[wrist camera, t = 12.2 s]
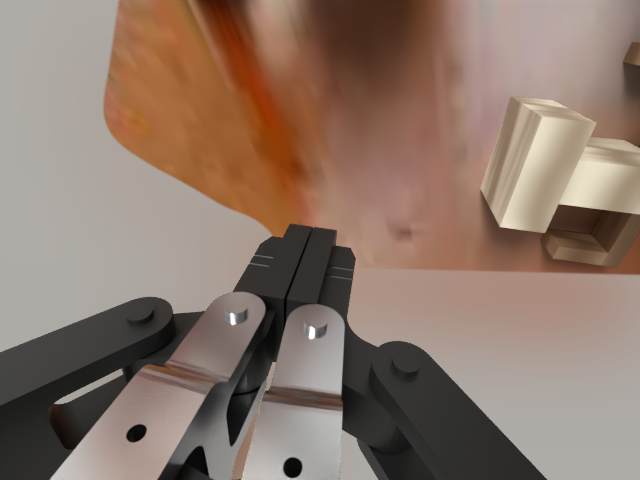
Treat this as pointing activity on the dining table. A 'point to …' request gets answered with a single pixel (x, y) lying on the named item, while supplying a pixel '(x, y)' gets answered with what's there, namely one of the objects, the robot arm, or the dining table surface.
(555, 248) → the walnut fence
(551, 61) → the dining table surface
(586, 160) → the t block
